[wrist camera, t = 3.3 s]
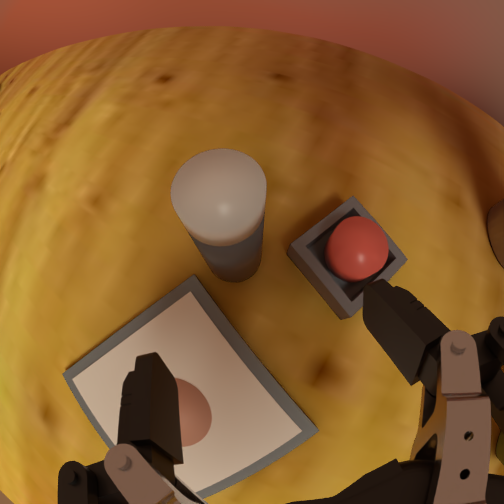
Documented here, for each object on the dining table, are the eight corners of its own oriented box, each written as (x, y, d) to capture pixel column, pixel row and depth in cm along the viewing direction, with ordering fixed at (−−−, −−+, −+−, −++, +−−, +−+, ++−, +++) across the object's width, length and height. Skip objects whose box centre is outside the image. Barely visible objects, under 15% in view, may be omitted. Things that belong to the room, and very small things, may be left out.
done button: (350, 219, 22) (360, 205, 19) (385, 259, 21) (399, 250, 18) (312, 250, 21) (319, 238, 19) (349, 294, 20) (360, 288, 17)
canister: (239, 221, 24) (229, 135, 13) (272, 260, 23) (286, 193, 12) (197, 251, 23) (155, 181, 12) (228, 293, 22) (204, 251, 11)
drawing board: (196, 276, 22) (193, 273, 21) (317, 427, 18) (320, 431, 17) (67, 373, 19) (60, 374, 18) (170, 508, 15) (167, 513, 14)
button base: (344, 208, 24) (353, 195, 22) (394, 267, 22) (407, 259, 20) (286, 254, 23) (290, 244, 20) (340, 319, 21) (350, 317, 19)
